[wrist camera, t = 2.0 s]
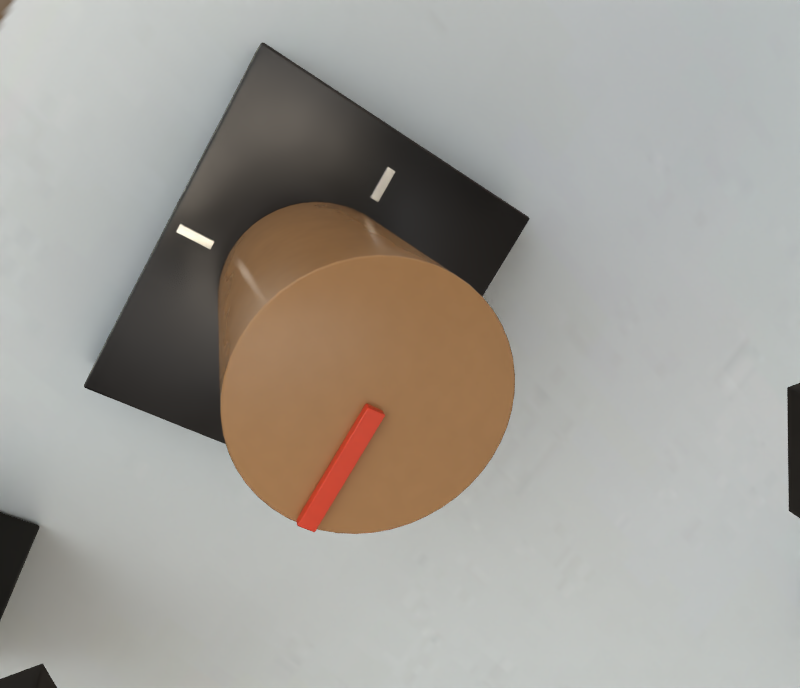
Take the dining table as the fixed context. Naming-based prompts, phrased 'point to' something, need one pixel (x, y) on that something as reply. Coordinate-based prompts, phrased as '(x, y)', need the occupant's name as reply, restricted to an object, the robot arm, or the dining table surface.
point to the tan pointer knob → (355, 372)
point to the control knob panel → (272, 190)
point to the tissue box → (13, 553)
